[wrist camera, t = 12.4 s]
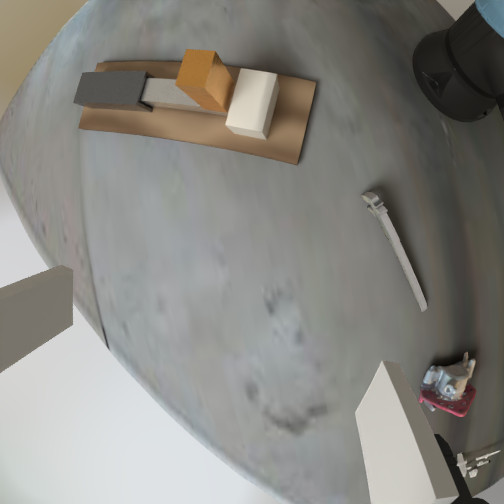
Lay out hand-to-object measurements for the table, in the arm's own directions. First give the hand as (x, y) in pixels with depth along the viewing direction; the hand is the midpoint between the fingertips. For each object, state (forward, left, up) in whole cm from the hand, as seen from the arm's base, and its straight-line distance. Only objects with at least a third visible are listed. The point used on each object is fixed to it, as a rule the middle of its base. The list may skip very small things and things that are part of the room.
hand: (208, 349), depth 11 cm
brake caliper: (+16, +36, -32) cm, 51 cm away
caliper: (-2, +18, -32) cm, 37 cm away
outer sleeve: (-16, -27, -30) cm, 44 cm away
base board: (-16, -17, -32) cm, 39 cm away
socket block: (-16, -6, -30) cm, 35 cm away
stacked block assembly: (-16, -16, -29) cm, 37 cm away
